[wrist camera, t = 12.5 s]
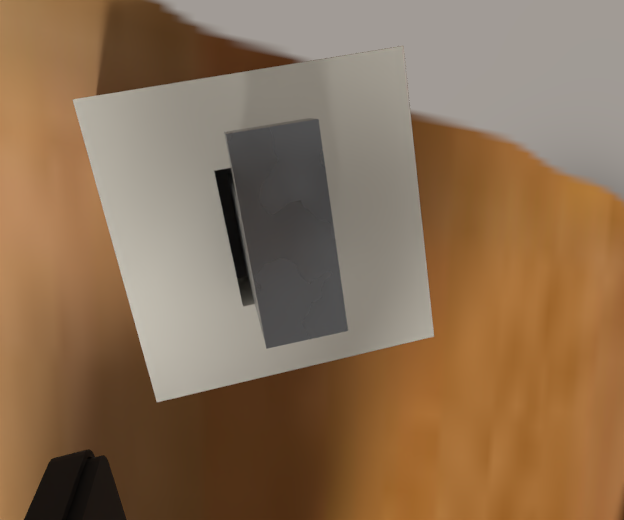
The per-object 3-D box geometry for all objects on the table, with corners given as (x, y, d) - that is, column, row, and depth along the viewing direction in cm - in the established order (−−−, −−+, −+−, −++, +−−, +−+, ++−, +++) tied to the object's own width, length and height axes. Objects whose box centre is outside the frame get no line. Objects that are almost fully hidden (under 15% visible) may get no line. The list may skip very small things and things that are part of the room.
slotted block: (400, 303, 33) (434, 336, 28) (163, 357, 31) (156, 402, 26) (370, 55, 29) (403, 45, 24) (95, 100, 27) (72, 99, 22)
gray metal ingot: (298, 254, 30) (348, 330, 20) (244, 264, 30) (266, 348, 20) (275, 114, 28) (318, 119, 18) (217, 123, 28) (226, 134, 17)
